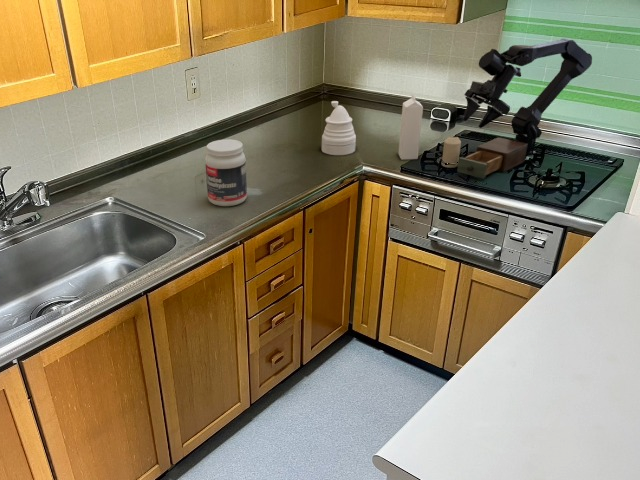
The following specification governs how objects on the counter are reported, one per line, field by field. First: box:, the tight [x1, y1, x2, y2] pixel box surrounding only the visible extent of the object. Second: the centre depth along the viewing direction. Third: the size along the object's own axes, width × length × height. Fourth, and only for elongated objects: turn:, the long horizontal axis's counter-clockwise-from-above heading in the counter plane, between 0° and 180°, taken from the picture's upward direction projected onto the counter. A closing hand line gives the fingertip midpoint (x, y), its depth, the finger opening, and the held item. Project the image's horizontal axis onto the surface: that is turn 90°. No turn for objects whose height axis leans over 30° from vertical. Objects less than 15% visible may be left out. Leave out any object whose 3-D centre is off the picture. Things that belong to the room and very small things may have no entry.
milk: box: [398, 93, 424, 161], centre depth 224 cm, size 6×6×22 cm
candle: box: [441, 136, 462, 169], centre depth 218 cm, size 6×6×10 cm
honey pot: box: [321, 100, 357, 156], centre depth 236 cm, size 13×13×18 cm
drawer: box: [456, 150, 504, 179], centre depth 211 cm, size 14×10×5 cm
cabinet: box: [476, 136, 528, 173], centre depth 218 cm, size 14×11×7 cm
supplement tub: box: [204, 138, 248, 207], centre depth 199 cm, size 13×13×18 cm
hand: (471, 123), depth 216 cm, fingers open, 9 cm apart
